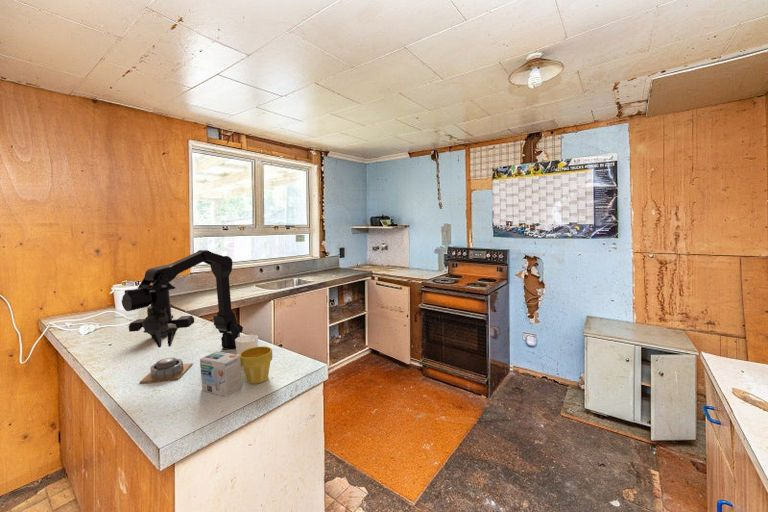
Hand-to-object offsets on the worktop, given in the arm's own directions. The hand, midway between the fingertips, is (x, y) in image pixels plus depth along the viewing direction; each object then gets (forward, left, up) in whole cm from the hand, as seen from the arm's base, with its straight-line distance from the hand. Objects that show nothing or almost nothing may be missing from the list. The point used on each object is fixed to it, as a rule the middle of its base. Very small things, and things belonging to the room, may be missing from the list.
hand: (164, 346), depth 116 cm
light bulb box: (-23, +16, -10) cm, 30 cm away
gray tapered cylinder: (0, 0, -9) cm, 9 cm away
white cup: (-27, -2, -10) cm, 29 cm away
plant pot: (-33, +12, -10) cm, 37 cm away
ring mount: (0, 0, -10) cm, 10 cm away
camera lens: (+22, -44, -10) cm, 50 cm away
